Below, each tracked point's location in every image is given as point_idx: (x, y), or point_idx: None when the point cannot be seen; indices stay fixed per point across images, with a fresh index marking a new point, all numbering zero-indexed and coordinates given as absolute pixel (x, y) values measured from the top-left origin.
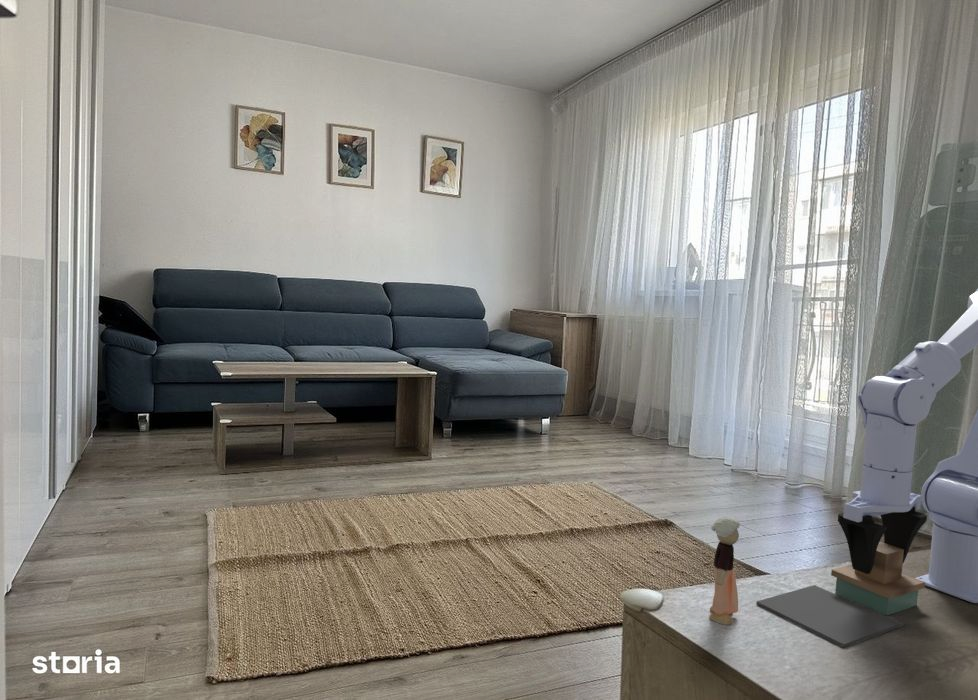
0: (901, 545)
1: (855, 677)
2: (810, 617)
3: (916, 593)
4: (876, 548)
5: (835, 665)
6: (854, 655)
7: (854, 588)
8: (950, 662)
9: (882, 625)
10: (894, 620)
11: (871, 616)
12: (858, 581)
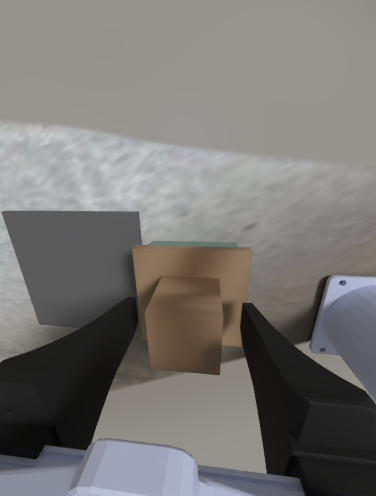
0: (250, 360)
1: (16, 348)
2: (46, 275)
3: None
4: (112, 377)
5: (11, 332)
6: (43, 332)
7: None
8: (123, 376)
9: None
10: None
11: None
12: (138, 295)
